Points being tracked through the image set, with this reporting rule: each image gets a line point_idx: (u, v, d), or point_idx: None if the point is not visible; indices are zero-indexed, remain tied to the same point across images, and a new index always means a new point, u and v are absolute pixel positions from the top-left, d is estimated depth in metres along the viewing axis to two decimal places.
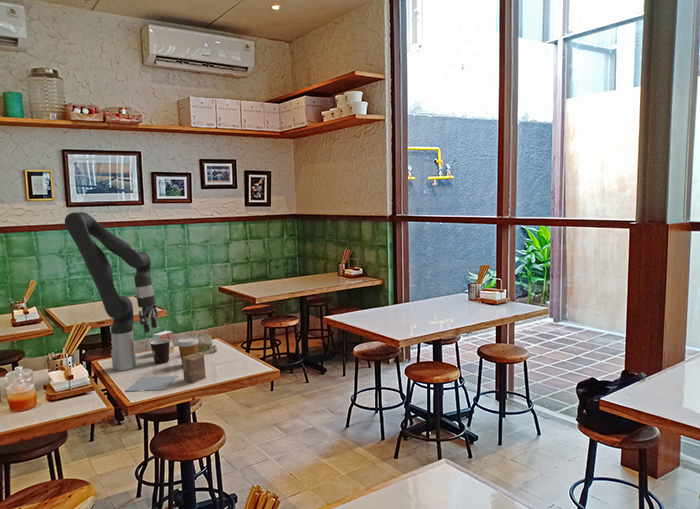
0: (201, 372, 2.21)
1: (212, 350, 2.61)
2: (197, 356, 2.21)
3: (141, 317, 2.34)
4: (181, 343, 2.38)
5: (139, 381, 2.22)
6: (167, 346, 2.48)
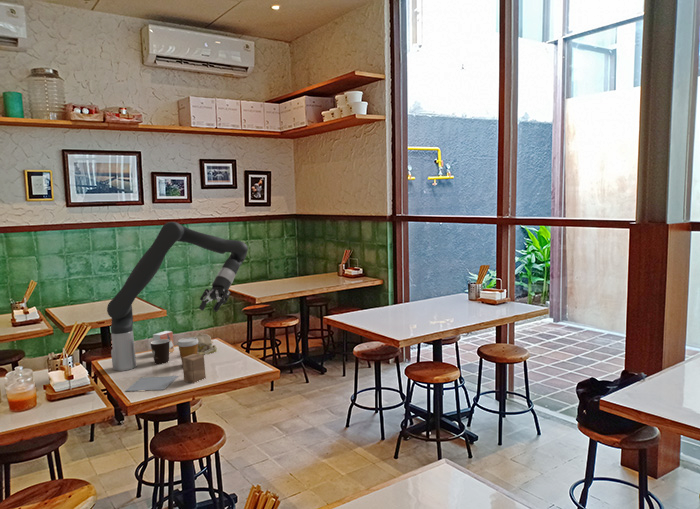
0: (201, 372, 2.21)
1: (212, 350, 2.61)
2: (197, 356, 2.21)
3: (226, 295, 2.31)
4: (181, 343, 2.38)
5: (139, 381, 2.22)
6: (167, 346, 2.48)
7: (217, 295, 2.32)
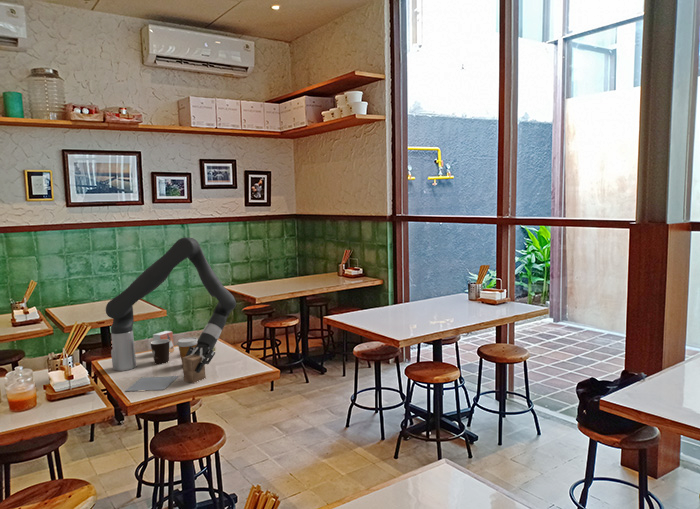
0: (201, 372, 2.21)
1: None
2: (197, 356, 2.21)
3: (210, 356, 2.21)
4: (181, 343, 2.38)
5: (139, 381, 2.22)
6: (167, 346, 2.48)
7: (201, 354, 2.21)
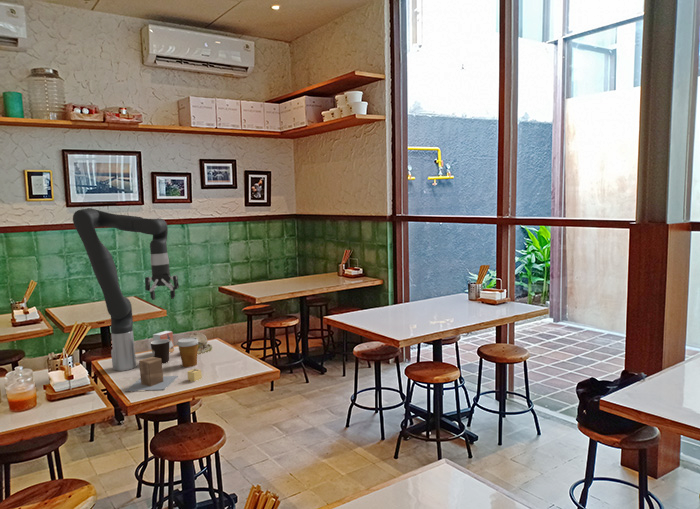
0: (158, 375, 2.19)
1: (208, 348, 2.64)
2: (154, 359, 2.18)
3: (176, 281, 2.35)
4: (181, 343, 2.38)
5: (139, 381, 2.22)
6: (167, 346, 2.48)
7: (167, 284, 2.34)
